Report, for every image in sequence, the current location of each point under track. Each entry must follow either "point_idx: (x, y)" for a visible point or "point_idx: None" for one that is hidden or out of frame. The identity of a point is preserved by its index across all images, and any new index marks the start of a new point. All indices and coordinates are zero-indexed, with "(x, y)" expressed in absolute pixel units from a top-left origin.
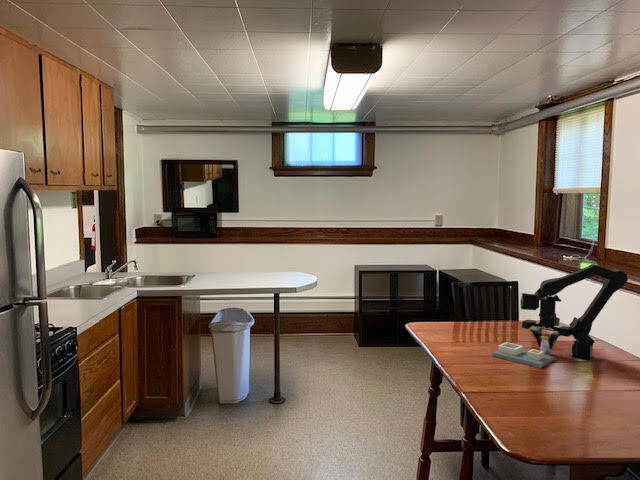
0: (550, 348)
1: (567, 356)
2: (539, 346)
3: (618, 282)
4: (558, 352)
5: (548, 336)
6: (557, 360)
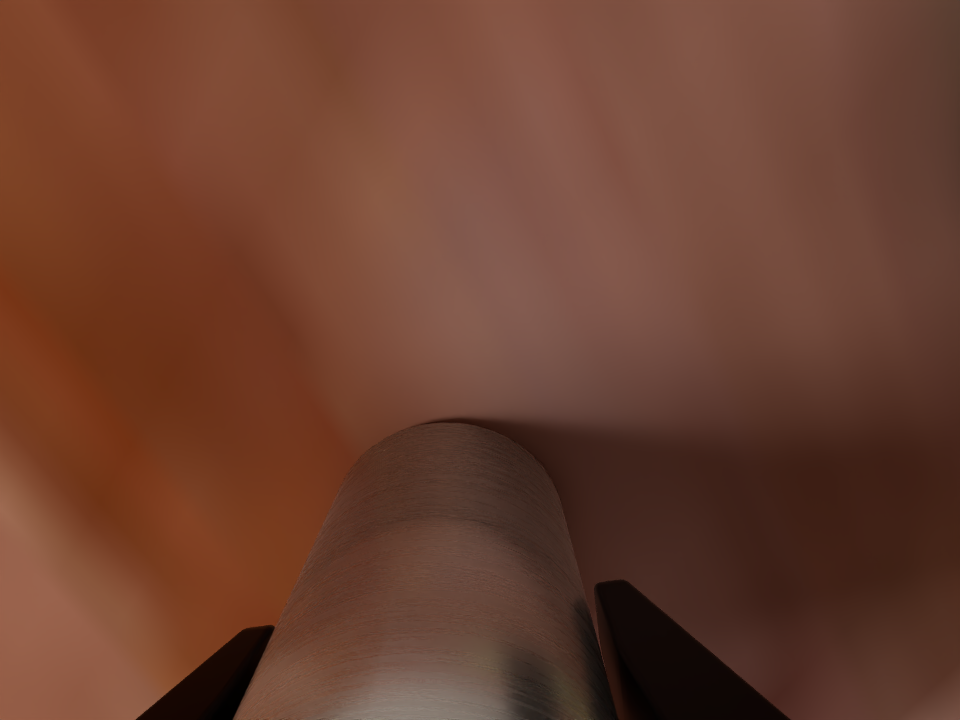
0: (608, 673)
1: (878, 245)
2: None
3: None
4: (571, 101)
5: None
6: (811, 681)
